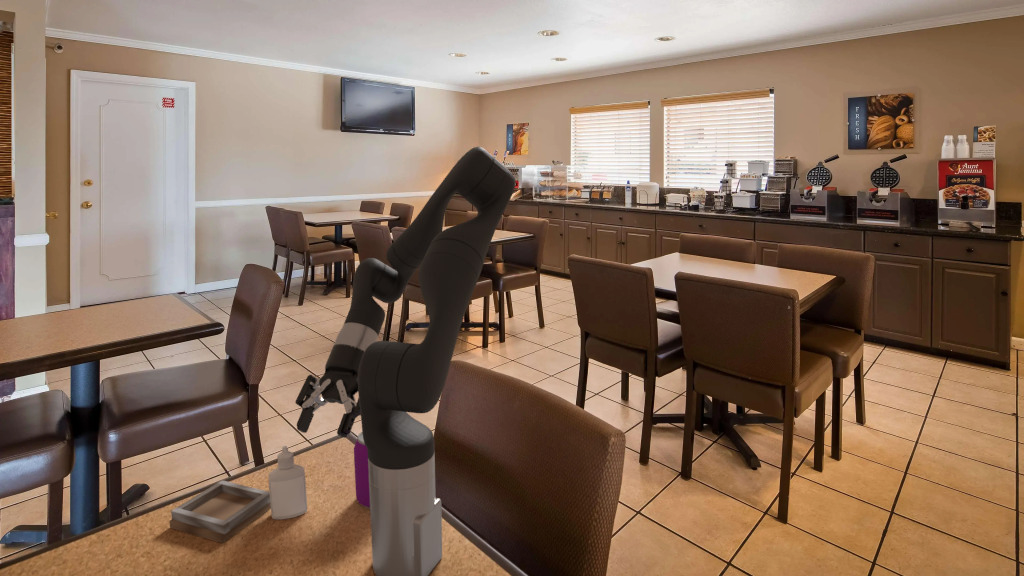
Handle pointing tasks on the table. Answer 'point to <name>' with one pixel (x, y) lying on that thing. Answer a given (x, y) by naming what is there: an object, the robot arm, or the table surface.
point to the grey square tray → (220, 511)
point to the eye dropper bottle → (287, 488)
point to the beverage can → (361, 472)
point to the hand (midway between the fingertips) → (320, 433)
